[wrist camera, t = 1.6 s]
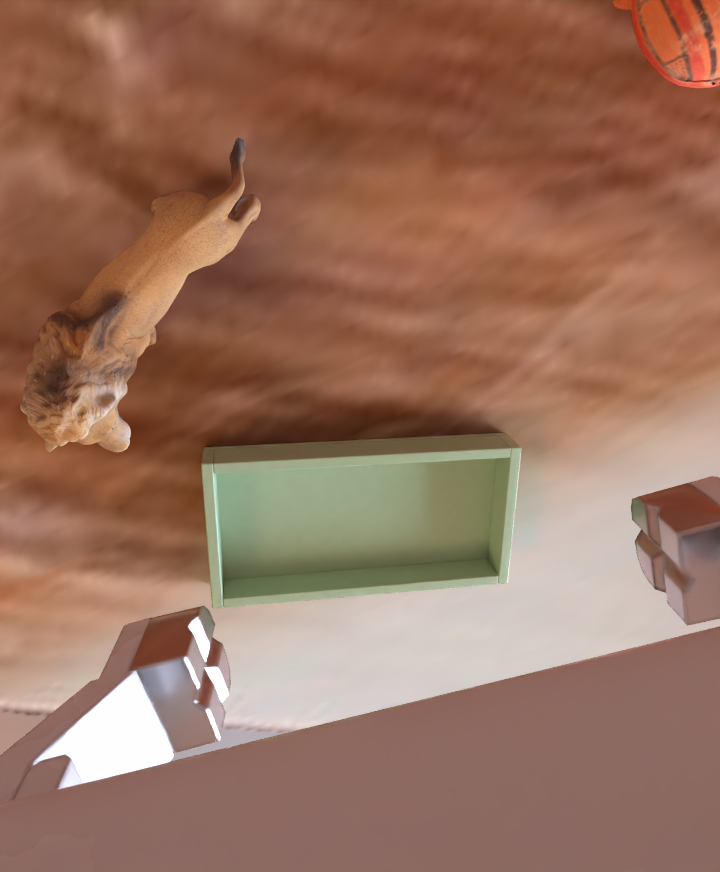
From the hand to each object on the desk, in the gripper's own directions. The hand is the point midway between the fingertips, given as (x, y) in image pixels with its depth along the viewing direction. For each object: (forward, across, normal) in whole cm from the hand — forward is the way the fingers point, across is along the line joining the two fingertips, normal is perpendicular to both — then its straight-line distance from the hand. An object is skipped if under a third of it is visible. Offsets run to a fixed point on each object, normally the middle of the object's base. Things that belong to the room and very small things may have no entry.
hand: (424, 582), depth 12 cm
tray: (+24, +2, +10) cm, 26 cm away
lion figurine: (+23, +9, -5) cm, 25 cm away
